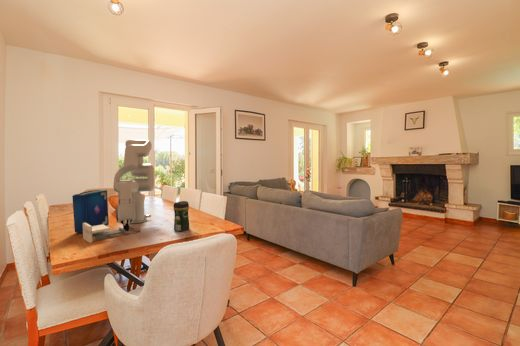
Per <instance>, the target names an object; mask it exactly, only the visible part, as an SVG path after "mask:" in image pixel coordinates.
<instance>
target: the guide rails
mask: <svg viewBox="0 0 520 346" xmlns="http://www.w3.org/2000/svg"><path fill="white" fill-rule="evenodd" d="M141 231H142V230H141V229H137V230H135V226H132V227H129V231H125V233H121V234H116V235H111V236H109V238H108V239H113V238H118V237H122V236H128V235H132V234H136V233H141Z"/></svg>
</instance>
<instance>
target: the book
mask: <svg viewBox="0 0 520 346" xmlns="http://www.w3.org/2000/svg"><path fill="white" fill-rule="evenodd" d="M107 190H108V189H107ZM107 190H106V189H95V190H88V191H83V192H80V193H77V194H73V195H71V196H72V210H73V211H72V212H73V224H74V225H73V226H74V232H75V234H76V233H77V234H83V223H87V224H89V225H91V226H96V225H102V224H103V225H105V226H107V227H108V226H109V225H110V224H109V223H110V222H109V221H110V220H109V202H108V191H107Z"/></svg>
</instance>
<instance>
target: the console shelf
mask: <svg viewBox="0 0 520 346" xmlns="http://www.w3.org/2000/svg"><path fill="white" fill-rule="evenodd" d="M108 231H111V227H109V226H108V225H107V226H105V225H103V224H102V225H96V226H91V225H89V224H87V223H83V233H82V238H83V239H84V241H86V242H87V243H88V244H89V243H93V242H95V241H96V240H95V236H93V234H98V233H103V232H108Z"/></svg>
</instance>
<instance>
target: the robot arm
mask: <svg viewBox="0 0 520 346" xmlns="http://www.w3.org/2000/svg"><path fill="white" fill-rule="evenodd" d="M152 145H153V144H152V141H150V139H127V140H125V148H124V157H123V165H122V166H121V167H120V168H118V170H117V171H116V172H115V174H114V177H113V185H112V186H113V187H112V188H113V191H114V192H116V193H117V194H118V197H117V198H118V203H117V204H116V208H115V219H116V221H115V223H117V224H122V228H123V229H125V232H130V230H129V228H130V224H142V223H145V222H147V221H148V219H147V218H151V217H152V215H151V214H145V197H144V195H143V194H142V193H141V192H153V191H154V189H155V168H154V166H153V165H152V164H151V163H144V158H146V157H148V156H149V154H150V152H151V150H152V147H153V146H152ZM129 172H130V175H131V176H132V177H135V178H131V179H130V180H121V179H122V177H123V176H124V175H125V174H127V173H129ZM139 177H140V178H139Z"/></svg>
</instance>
